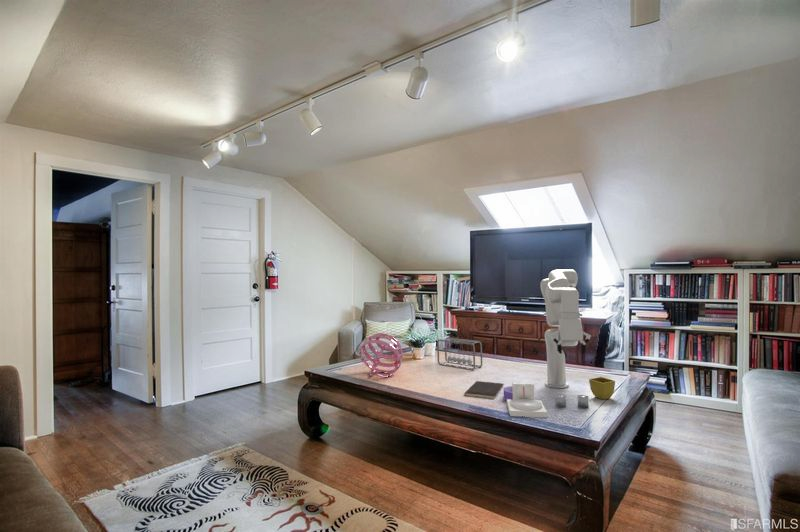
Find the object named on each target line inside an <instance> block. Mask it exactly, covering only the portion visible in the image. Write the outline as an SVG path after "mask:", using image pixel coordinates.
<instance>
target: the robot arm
mask: <svg viewBox="0 0 800 532" xmlns="http://www.w3.org/2000/svg"><path fill="white" fill-rule="evenodd" d="M547 277H548V278H544V279H542V280H541V281H540V285H539V286H540V291H541V292H540V293H541V295H542V298H543V299H544V304H545V317H546V323H547V325H548V326H549V327H558V328H549V329H546V331H544V341H545V347H546V368H547V369H546V370H547V371H546V373H547V375H546V376H547V380H546V381H544V385H545V386H546V387H549V388H553V389H567V388H569V387H570V384H569V383H568V382H567V378H566V376H567V375H566V355H565V352H564V351H563V347H577V346H578V344H579V342H580V353H581V354H582V355H584V354H585V352H586V345H587V344H588V343H589V341H590V340H591V337H592V335H591V334H589V333H587V332H585V331H584V330H583V324H582V320H581V318H580V317H583V312H582V313H581V312H579V311H580V307H579V299H580V292H579V291H578V289H576V287H577V285H578V281H579V275H578V273H577V272H576V270H574V269H554V270H552V271H550V272H549V273H548V276H547ZM584 336H585V339H584Z"/></svg>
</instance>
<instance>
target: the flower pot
mask: <svg viewBox="0 0 800 532" xmlns="http://www.w3.org/2000/svg"><path fill="white" fill-rule="evenodd" d="M588 382H589V387H590V391H591V393H592V395H593V396H594V397H595V398H597V399H599V400H600V399H601V400H606V399H611V397H612V396H613V394H614V393H615V389H616V388H615V387H616V380H614V379H611V378H606V377H602V376H598V377H594V378H589V379H588Z"/></svg>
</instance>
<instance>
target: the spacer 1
mask: <svg viewBox="0 0 800 532" xmlns="http://www.w3.org/2000/svg"><path fill="white" fill-rule="evenodd" d="M554 396H555V406H556V407H557V408H561V409H562V408H563V409H564V408H566V407H567V395H565V394H562V393H557V394H555V395H554Z"/></svg>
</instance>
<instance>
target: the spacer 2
mask: <svg viewBox="0 0 800 532" xmlns="http://www.w3.org/2000/svg"><path fill="white" fill-rule="evenodd" d="M589 406H590V405H589V396H588V395H586V394H578V395H577V407H578V408H580V409H589Z"/></svg>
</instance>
